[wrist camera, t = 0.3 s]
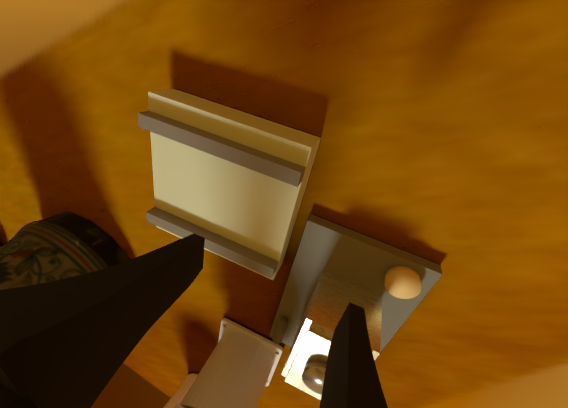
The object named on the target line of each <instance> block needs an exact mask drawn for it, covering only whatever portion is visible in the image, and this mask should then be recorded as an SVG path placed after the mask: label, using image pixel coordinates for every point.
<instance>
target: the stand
mask: <svg viewBox="0 0 568 408" xmlns="http://www.w3.org/2000/svg"><path fill="white" fill-rule="evenodd" d="M148 98H149V111H145V112H140V113H138V120H139V127H140V128H142V129H145V130H148V131H150V132H151V148H152V165H153V182H154V198H155V207H154V208H152V209H150V210H149V211H147V212H146V216H147V222H149V223H152V224H154V225H156V227H158V228H160V229H162V230H164V231H166V232H168V233H171V234H173V235H175V236H177V237H179V238H181V239H182V238H184V237H186V236H189V235H191V234H194V233H195V234H197V235H199V236H201V237H204V238H205V243H204V249H205V250H208V251H210V252H212V253H214V254H216V255H219V256H221V257H223V258H225V259H227V260H229V261H232V262H234V263H236V264H238V265H240V266H243V267H245V268H247V269H249V270H251V271H253V272H256V273H258V274H260V275H262V276H264V277H266V278H269V279H271V280H274V278H275V276H276V274H277V272H278V271H279V269H280V267H281V265H282V263H283V261H284V258H285V255H286V251H287V248H288V245H289V242H290V238H291V235H292V232H293V229H294V225H295V222H296V219H297V215H298V212H299V209H300V206H301V202H302V199H303V196H304V192H305V189H306V186H307V183H308V179H309V176H310V173H311V170H312V166H313V163H314V160H315V156H316V153H317V150H318V147H319V143H320V140H321V138H320V137H317V136H314V135H311V134H308V133H305V132H302V131H299V130H296V129H293V128H290V127H287V126H284V125H281V124H278V123H275V122H272V121H269V120H266V119H263V118H260V117H257V116H254V115H251V114H248V113H245V112H242V111H239V110H236V109H233V108H230V107H227V106H224V105H221V104H218V103H215V102H212V101H209V100H206V99H203V98H200V97H197V96H194V95H191V94H188V93H185V92H182V91H179V90H176V89H166V90H158V91H149V92H148Z"/></svg>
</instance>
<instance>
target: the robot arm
mask: <svg viewBox="0 0 568 408" xmlns="http://www.w3.org/2000/svg"><path fill="white" fill-rule="evenodd" d="M204 243H205V238H204V237H201V236H199V235H197V234H195V233H194V234H191V235H189V236H186V237H184V238H182V239H180V240H177V241H175V242H173V243H170V244H168V245H166V246H164V247H161V248H159V249H156V250H154V251H152V252H149V253H147V254H144V255H142V256H139V257H136V258H134V259H131V260H128V261H126V262H123V263H120V264H117V265H114V266H111V267H107V268H104V269H101V270H97V271H94V272H90V273H86V274H82V275H78V276H74V277H70V278H66V279H61V280H56V281H52V282H47V283H41V284H36V285H30V286H24V287H17V288H10V289H3V290H0V408H91V406H92V405H93V403H94V402H95V400H96V399H97V398H98V396H99V395H100V393H101V392H102V390H103V389H104V387H105V386H106V385H107V384H108V382H109V381H110V379H111V378H112V377H113V375H114V374H115V372H116V371H117V370H118V368H119V367H120V366H121V364H122V363H123V362H124V360H125V359H126V358H127V356H128V355H129V354H130V353H131V351H132V350H133V349H134V347H135V346H136V345H137V344H138V342H139V341H140V340H141V338H142V337H143V336H144V335H145V333H146V332H147V331H148V330H149V329H150V327H151V326H152V325H153V324H154V323H155V322H156V321H157V320H158V319H159V318H160V317H161V316H162V314H163V313H164V312H165V311H166V310H167V309H168V308H169V307H170V306H171V305H172V304H173V303H174V302H175V301H176V300H177V299H178V298H179V297H180V296H181V294H182V293H183V292H184V291H185V290H186V289H187V288H188V287H189V286H190V285H191V283H192V282H193V281H194V279H195V278H196V277H197V275H198V274H199V272H200V271H201V270H202V268H203V257H204ZM282 352H283V347H282V346H280V345H278V344H275V343H274V342H272V341H270V340H268V339H266V338H265V337H263V336H261V335H259V334H257V333H255V332H253V331H251V330H249V329H247V328H245V327H243V326H241V325H239V324H237V323H235V322H233V321H231V320H229V319H227V318H223V319H222V321H221V326H220V333H219V340H218V344H217V345H216V347H215V349H214V350H213V352H212V353H211V355H210V357H209V358H208V360H207V361H206V363H205V365H204V366H203V368H202V369H201V371H200V373H199V374H198V376H197V378H196V379H195V381H194V382H193V384H192V386H191V387H190V389H189V390H188V392H187V394H186V395H185V397H184V398H183V400H182V402H181V403H180V405H179V404H178V403H177V404H176V405H175V406H174V408H257V405H258V403H259V400H260V398H261V395H262V393H263V390H264V387H265V386H269V383H270V381H271V378H272V376H273V374H274V371H275V369H276V366H277V364H278V361H279V359H280V357H281V354H282ZM320 408H388V407H387V404H386V401H385V397H384V394H383V391H382V388H381V384H380V381H379V377H378V373H377V370H376V366H375V362H374V357H373V353H372V349H371V344H370V339H369V334H368V329H367V323H366V315H365V310H364V308H362V307H360V306H357V305H355V304H353V303H350V302H349V304H348V306H347V308H346V310H345V311H344V313H343V315H342V317H341V319H340V321H339V322H338V324H337V326H336V328H335V330H334V333H333V337H332V341H331V345H330V348H329V352H328V358H327V364H326V370H325V377H324V383H323V390H322V396H321V403H320Z"/></svg>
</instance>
